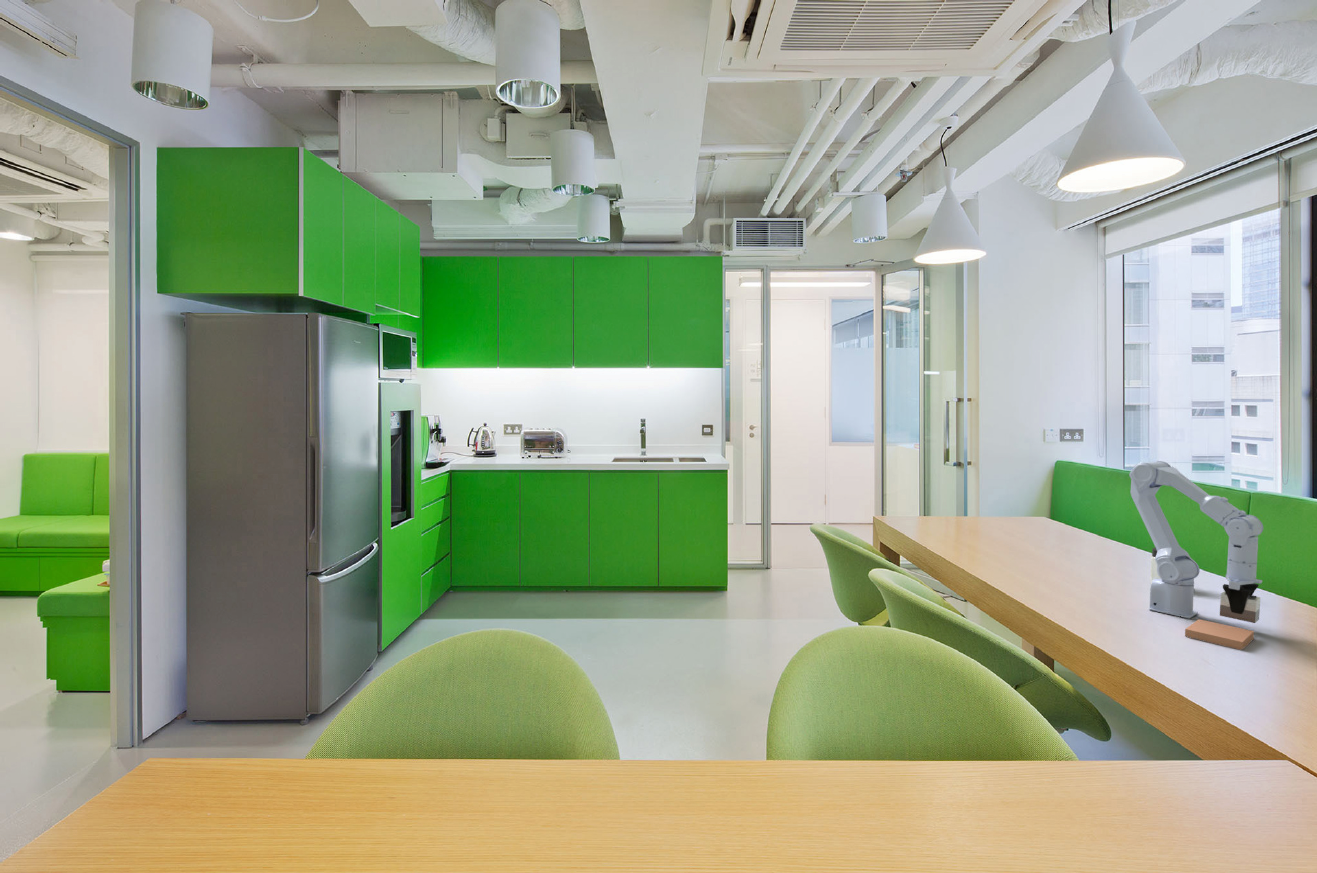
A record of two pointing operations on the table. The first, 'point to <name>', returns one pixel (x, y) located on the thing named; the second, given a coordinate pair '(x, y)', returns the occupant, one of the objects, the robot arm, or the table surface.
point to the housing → (1249, 611)
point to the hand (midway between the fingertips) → (1239, 611)
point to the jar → (1154, 566)
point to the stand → (1220, 634)
